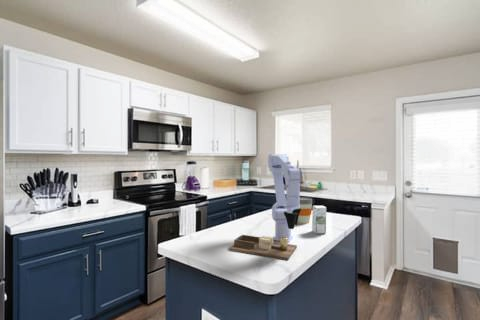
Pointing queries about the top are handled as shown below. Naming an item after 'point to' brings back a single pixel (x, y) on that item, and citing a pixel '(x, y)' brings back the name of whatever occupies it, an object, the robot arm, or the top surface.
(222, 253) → the top surface
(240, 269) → the top surface
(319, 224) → the syrup box
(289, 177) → the robot arm
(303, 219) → the reusable coffee cup
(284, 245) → the cream block with stem
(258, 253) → the walnut lane shelf
